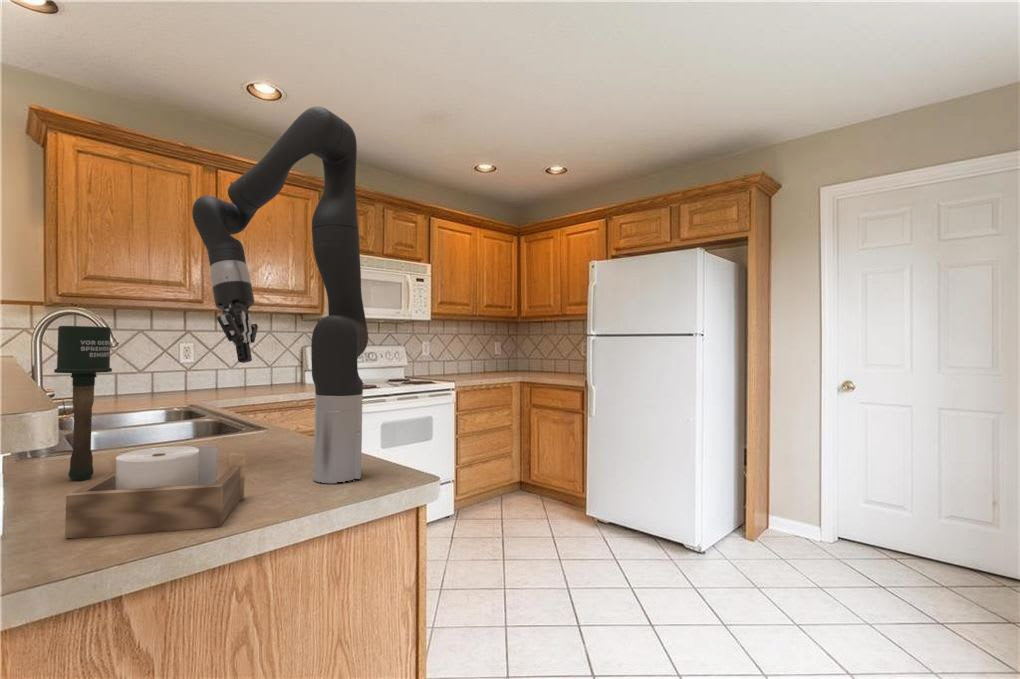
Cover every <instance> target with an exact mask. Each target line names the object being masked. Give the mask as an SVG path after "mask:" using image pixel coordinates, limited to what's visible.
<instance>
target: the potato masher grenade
mask: <svg viewBox="0 0 1020 679" xmlns="http://www.w3.org/2000/svg"><path fill="white" fill-rule="evenodd" d="M56 354H57V355H56V357H57V358H56V368H55V369H54V373H56V374H71V375H70V378H72V386H71V387H72V406H73V427H72V428H73V432H72V433H73V435H72V452H71V456H70V460H69V461H70V462H69V464H70V465H69V471H68V478H69V480H70V481H73V482H81V481H86V480H89V479H91V478H92V477H93V475H94V471H95V470H94V463H93V462H94V461H93V460H94V459H93V458H94V457H93V456H94V455H93V453H92V421H93V420H92V417H93V413H92V411H93V406H94V402H95V385H96V384H95V383H96V382H95V381H96V378H97V377H98V375H97V373H98V374H99V373H111V372H113V368H112V367H111V365H110V364H111V327H108V326H93V325H92V326H91V325H90V326H87V325H59V326H58V328H57V352H56Z"/></svg>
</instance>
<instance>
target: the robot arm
mask: <svg viewBox="0 0 1020 679" xmlns="http://www.w3.org/2000/svg"><path fill="white" fill-rule="evenodd" d="M357 148H358V146H357V137H356V133H355V131H354V129H353V128H352V127H351V125H350V124H349V123H348V122H347V121H345V120H343V119H342V118H341V117H340V116H338V115H337V114H335V113H334V112H332V111H330V110H329V109H327V108H325V107H322V106H311V107H309V108H307V109H306V110H304V111H303V112H301V114H300V115H299V116H298V117H297V118H295V120H294V121H293V122H292V123H291V125H290V126H288V128H287V129H286V131H284V133H283V134H281V136H280V137H279V139H278V140H277V141H276V142H275V143H274V144H273V146H272V147H271V148H270V149H269V150H268V152H267V153H266V154H265V155H264V156H263V157H262V158H261V159H260V160H259V161H258V162H257V163H256V164H255V165H253V166H252V167H251V168H249V169H248V170H247V171H246V172H245V173H243V174H242V175H240V177H238V178H237V179H236V180H234V181H233V182H232V183H231V184H230V185H229V187H228V188H227V195H228V198H229V199H230V201H231V202H229V201H225V200H222V199H220V198H217V197H214V196H213V195H202V196H200V197H198V198H196V200H195V201H194V203H193V206H192V211H191V215H192V219H193V220H192V221H193V222H194V225H195V228H196V230H197V232H198V234H199V236H200V237H201V241H202V242H203V245H204V246H205V248H206V250H207V255H208V262H209V266H210V282H211V287H212V293H213V300H214V305H215V308H217V309H218V310H221V311H222V315H219V316H217V317H216V320H217V322H218V323H219V326H220V327H221V330H222V331H223V333H224V334H225V336H226V339H227V341H228V342H232V344H233V345H234V346H235V349H236V356H237V361H238V363H242V364H246V363H249V362H252V360H253V358H252V352H251V347H250V345H251V344H252V343H253V344H254V343H255V340H256V337H257V334H258V329H259V326H258V324H257V323H253V322H252V316H251V312H250V310H249V308H250V307H253V305H254V304H255V297H254V291H253V287H252V286H253V285H252V281H251V275H250V272H249V269H248V265H247V262H246V261H247V260H246V256H245V250H244V245H243V244H242V243H241V241H239V239H237V238H235V237H234V236H232V235H236V234H237V235H238V234H239V233H241V232H243V231H244V230H246V227H248V225H249V223H250V222H251V221H252V219H253V218H254V217H255V214H256V213H257V212H258V210H259V209H261V208H262V207H263V206H265V205H266V204H267V203H269V202H270V201H272V200H273V199H274V198H276V196H277V195H279V194H280V192H281V191H282V189H283V188H284V186H285V184H286V181H287V178H288V175H289V174H290V173H289V172H290V171H291V170H292V168H293V167H294V165H296V163H298V162H299V161H301V160H302V159H304V158H306V157H308V156H309V155H314V156H315V157H317V158H319V159H320V160H321V161H322V165H323V174H324V175H323V177H324V178H323V179H324V186H323V187H324V188H323V191H322V192H323V193H322V194H321V196H320V199H319V202H318V203H317V205H316V207H315V210H314V212H313V215H312V219H311V238H312V250H313V256H314V259H315V263H316V265H317V269H318V272H319V274H320V277H321V279H322V282H323V285H324V288H325V290H326V296H327V307H328V310H327V312H328V316H324V317H323V318H321V319H320V320H319V321H318V322H317V323H316V324H315V326H314V329H313V330H312V333H311V334H312V335H311V345H310V348H311V349H310V350H311V351H310V352H311V353H310V354H311V355H310V356H311V359H310V360H311V378H312V381H313V383H314V389H315V391H314V393H315V394H314V429H313V430H314V433H313V434H314V435H313V440H314V441H313V470H312V472H313V477H312V478H313V480H314V481H315V482H318V483H320V482H321V483H322V484H338V483H337V482H343V483H346V482H345V481H349V480H353V479H360V478H361V479H362V454H363V453H362V450H363V449H362V444H363V442H362V441H363V439H362V438H363V396H364V394H363V393H364V383H363V380H362V379H361V377H360V375H359V371H358V370H359V369H358V358H359V357H360V356H362V354H364V352H365V350H366V349H367V347H368V342H369V331H368V325H367V319H366V314H365V309H364V303H363V296H362V294H363V293H362V275H361V274H362V272H361V271H362V270H361V253H360V252H361V251H360V236H359V235H360V232H359V231H360V230H359V223H358V222H359V221H358V209H357V208H358V206H357V191H356V187H357V186H356V182H357V181H356V178H357V177H356V176H357V174H356V173H357V172H356V171H357V156H358V155H357V152H358V151H357ZM361 479H360V480H361ZM353 481H354V480H353ZM349 482H350V481H349Z"/></svg>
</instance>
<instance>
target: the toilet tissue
mask: <svg viewBox="0 0 1020 679" xmlns="http://www.w3.org/2000/svg"><path fill="white" fill-rule="evenodd" d="M218 450H219V448H218V446H215V445H214V446H212V445H182V446H181V445H179V446H163V447H161V446H160V447H152V448H144V449H138V450H133V451H129V452H125V453H122V454H119V455H118V456H116V457H115V458H116V476H115V478H116V482H115V485H116V486H115V490H123V489H142V488H158V487H176V486H193V485H211V484H214V483H215V482H216V481H217V480H218V477H217V475H218Z"/></svg>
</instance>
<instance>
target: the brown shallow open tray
mask: <svg viewBox="0 0 1020 679" xmlns="http://www.w3.org/2000/svg"><path fill="white" fill-rule="evenodd" d="M228 457H229V459H228V460H229V462H228V463H229V466H228V468H227V470H226V471H225V472H223V474H222V475H220V477H219V478H217V481H216V482H215V483H214V484H211V485H193V486H176V487H158V488H142V489H123V490H115V486H116V485H115V482H116V478H115V476H116V457H113V458H109V460H108V461H109V462H108V473H107V474H105V475H103V476H101V477H99V478H97V479H95V480H93V481H92V482H89V483H88V484H85V485H84V486H82V487H80V488H78V489H76V490H74V491H72V492H70V493H68V494H66V496H65V521H64V522H65V524H64V525H65V526H64V540H68V539H67V538H73V539H84V538H94V537H95V538H96V537H107V536H108V537H110V536H121V535H132V534H133V535H134V534H146V533H148V534H149V533H157V532H159V533H160V532H170V531H171V532H172V531H183V530H185V531H186V530H195V529H196V530H197V529H208V528H220V527H221V526H222V525H223V523H224V522H225V521H226V520H227V518H228V517H229V516H230V514H231V513H232V512H233V511H234V509H235V508H236V507H237V505H238V504H239V503H240V502H241V501H244V500H245V477H246V476H245V475H246V474H245V473H246V471H245V470H246V469H245V468H246V452H243V451H242V452H241V451H240V452H231V453H229V456H228Z"/></svg>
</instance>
